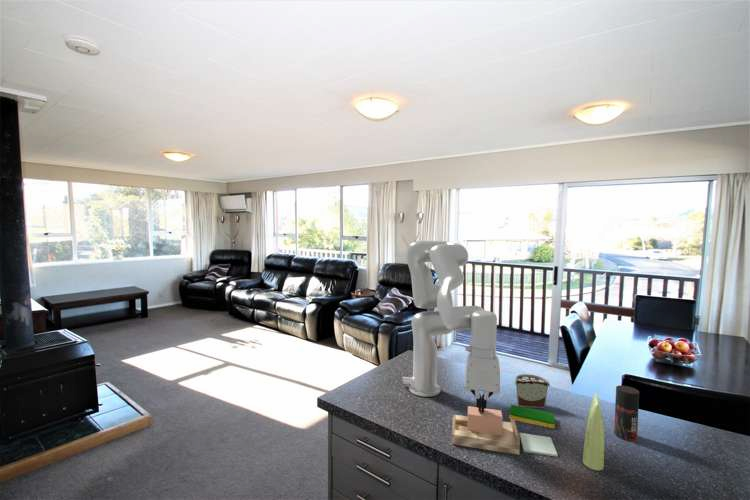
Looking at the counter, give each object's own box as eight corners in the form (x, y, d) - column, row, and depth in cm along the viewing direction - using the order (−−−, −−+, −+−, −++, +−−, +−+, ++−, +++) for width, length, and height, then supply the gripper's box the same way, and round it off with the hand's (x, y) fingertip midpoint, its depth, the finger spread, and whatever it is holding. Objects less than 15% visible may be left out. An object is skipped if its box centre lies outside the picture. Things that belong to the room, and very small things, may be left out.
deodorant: (630, 443, 108) (632, 395, 107) (610, 433, 113) (612, 387, 112) (640, 438, 110) (643, 391, 110) (620, 429, 116) (622, 384, 115)
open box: (451, 444, 106) (451, 429, 106) (453, 423, 118) (453, 410, 117) (519, 454, 101) (519, 439, 101) (513, 432, 113) (514, 418, 113)
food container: (542, 400, 135) (543, 374, 135) (548, 408, 129) (550, 381, 129) (509, 398, 136) (510, 372, 136) (514, 406, 130) (515, 379, 130)
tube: (610, 471, 95) (613, 400, 94) (594, 474, 94) (598, 401, 93) (593, 458, 100) (596, 390, 99) (577, 460, 99) (580, 392, 98)
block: (468, 414, 108) (502, 418, 105) (467, 406, 113) (501, 410, 110) (467, 430, 108) (502, 435, 105) (467, 421, 113) (500, 426, 110)
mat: (523, 451, 103) (523, 449, 103) (519, 434, 112) (519, 432, 112) (557, 456, 101) (557, 454, 101) (550, 439, 109) (550, 437, 109)
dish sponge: (510, 410, 128) (511, 404, 127) (553, 420, 122) (554, 413, 121) (509, 420, 121) (509, 413, 121) (554, 430, 115) (554, 423, 115)
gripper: (457, 353, 107) (456, 412, 108) (510, 358, 103) (508, 419, 104) (458, 345, 114) (456, 401, 115) (507, 350, 110) (505, 407, 111)
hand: (481, 410), depth 109 cm, fingers closed
